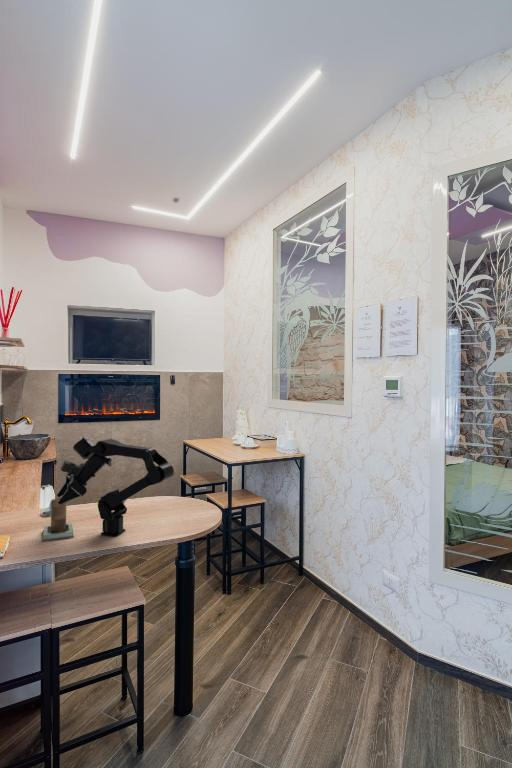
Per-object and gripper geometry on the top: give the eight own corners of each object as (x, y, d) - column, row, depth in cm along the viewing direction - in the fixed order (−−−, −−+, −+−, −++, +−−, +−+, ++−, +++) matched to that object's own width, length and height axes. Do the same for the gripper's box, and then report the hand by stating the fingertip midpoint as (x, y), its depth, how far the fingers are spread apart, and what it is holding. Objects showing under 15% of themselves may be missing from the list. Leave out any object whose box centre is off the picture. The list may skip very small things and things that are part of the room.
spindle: (68, 531, 158) (69, 498, 157) (59, 536, 153) (60, 502, 152) (56, 529, 159) (57, 497, 158) (47, 534, 154) (48, 501, 154)
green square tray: (72, 527, 162) (72, 522, 162) (73, 537, 153) (73, 531, 153) (42, 531, 158) (43, 526, 158) (42, 541, 149) (42, 535, 149)
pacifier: (38, 517, 173) (54, 516, 174) (37, 502, 173) (54, 501, 174) (42, 511, 180) (58, 510, 181) (42, 497, 180) (57, 496, 181)
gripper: (73, 448, 165) (40, 479, 161) (76, 458, 149) (40, 492, 144) (94, 467, 169) (63, 497, 164) (100, 478, 152) (66, 513, 148)
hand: (58, 499), depth 155 cm, fingers open, 9 cm apart
